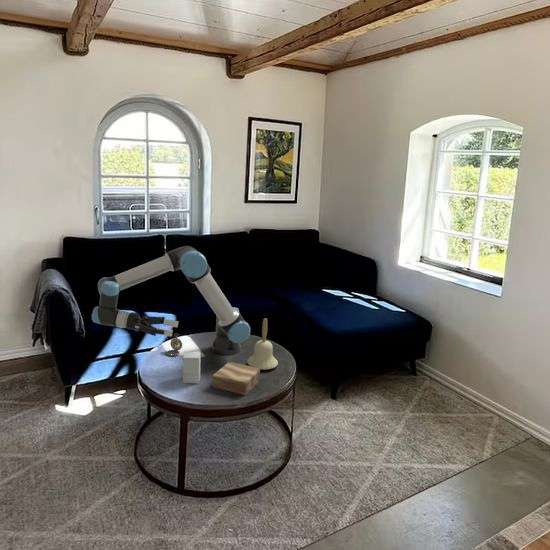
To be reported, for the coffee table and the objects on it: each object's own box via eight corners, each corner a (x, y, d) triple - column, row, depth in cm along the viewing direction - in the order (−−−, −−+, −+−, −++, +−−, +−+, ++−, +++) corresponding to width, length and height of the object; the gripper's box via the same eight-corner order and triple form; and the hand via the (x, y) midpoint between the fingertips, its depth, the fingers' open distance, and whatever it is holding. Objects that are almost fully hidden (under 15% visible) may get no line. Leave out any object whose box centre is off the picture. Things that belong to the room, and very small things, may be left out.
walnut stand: (228, 373, 236) (229, 361, 234) (259, 380, 230) (260, 368, 229) (212, 387, 221) (213, 375, 220) (245, 395, 216) (246, 382, 214)
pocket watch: (166, 357, 249) (166, 338, 247) (165, 350, 257) (165, 332, 255) (183, 356, 252) (183, 337, 249) (181, 349, 260) (181, 331, 257)
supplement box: (200, 376, 231) (201, 351, 228) (198, 383, 223) (199, 358, 220) (184, 376, 230) (185, 350, 227) (182, 383, 223) (182, 357, 220)
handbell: (264, 375, 236) (267, 326, 230) (240, 365, 245) (243, 318, 239) (283, 365, 248) (287, 318, 242) (260, 356, 257) (263, 311, 251)
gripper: (134, 320, 234) (178, 328, 235) (118, 336, 209) (168, 345, 210) (136, 305, 232) (181, 313, 233) (120, 320, 208) (170, 329, 209)
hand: (175, 328), depth 222 cm, fingers open, 13 cm apart
